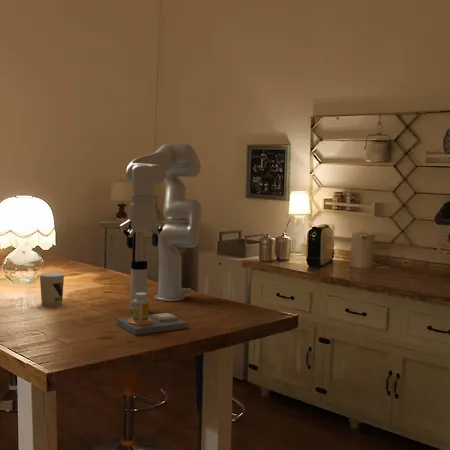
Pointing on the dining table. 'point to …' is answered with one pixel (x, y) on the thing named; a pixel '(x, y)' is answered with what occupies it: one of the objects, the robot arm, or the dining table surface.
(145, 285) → the travel mug
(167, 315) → the button
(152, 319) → the grey flat rectangular block
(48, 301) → the coffee cup
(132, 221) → the robot arm
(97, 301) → the dining table surface
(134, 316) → the supplement bottle
